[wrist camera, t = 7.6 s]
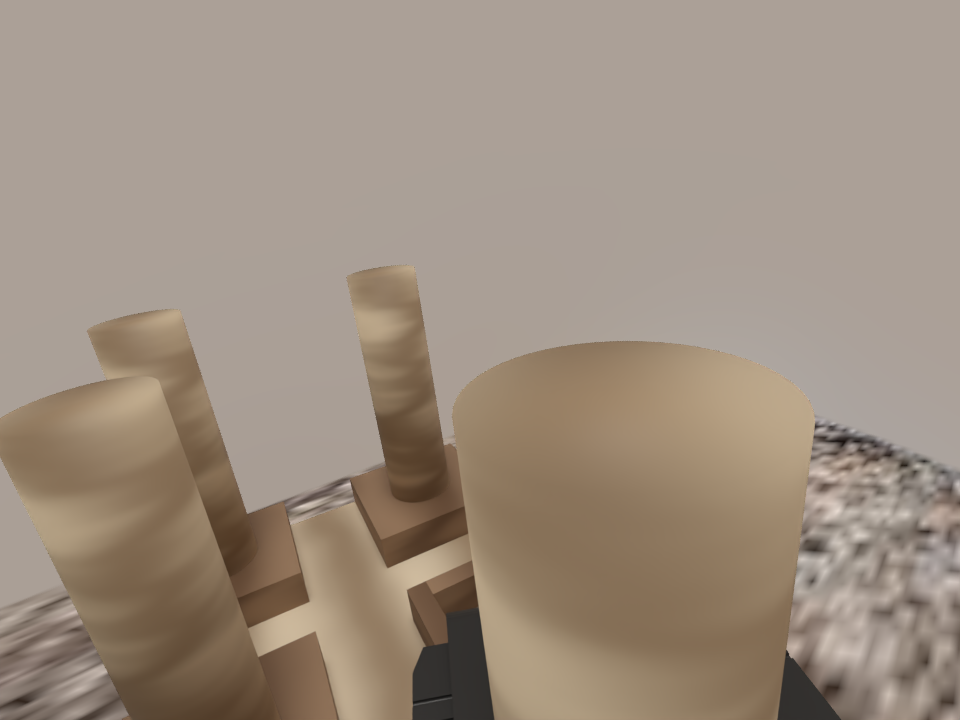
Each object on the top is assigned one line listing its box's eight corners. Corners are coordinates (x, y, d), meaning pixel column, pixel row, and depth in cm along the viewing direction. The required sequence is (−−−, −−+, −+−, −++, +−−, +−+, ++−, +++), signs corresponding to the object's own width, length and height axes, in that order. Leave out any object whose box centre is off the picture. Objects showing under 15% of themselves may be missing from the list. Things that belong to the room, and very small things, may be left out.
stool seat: (135, 1061, 15) (-243, 544, 9) (175, 611, 33) (55, 323, 26) (645, 713, 23) (638, 301, 17) (460, 497, 40) (422, 254, 34)
